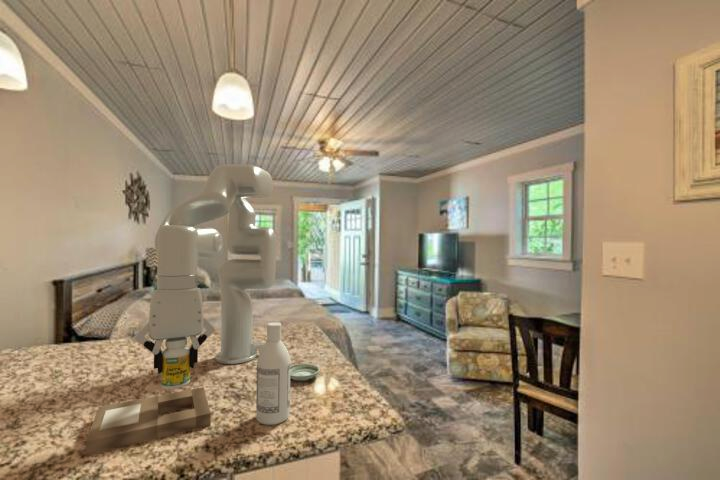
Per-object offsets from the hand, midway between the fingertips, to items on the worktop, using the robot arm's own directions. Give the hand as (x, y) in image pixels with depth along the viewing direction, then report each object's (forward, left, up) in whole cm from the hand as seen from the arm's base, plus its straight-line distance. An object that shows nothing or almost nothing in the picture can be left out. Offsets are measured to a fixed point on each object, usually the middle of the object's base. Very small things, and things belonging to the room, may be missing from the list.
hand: (176, 368), depth 71 cm
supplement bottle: (0, 0, -4) cm, 4 cm away
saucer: (-31, -7, -11) cm, 34 cm away
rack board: (+4, 0, -11) cm, 11 cm away
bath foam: (-18, +10, -11) cm, 23 cm away
